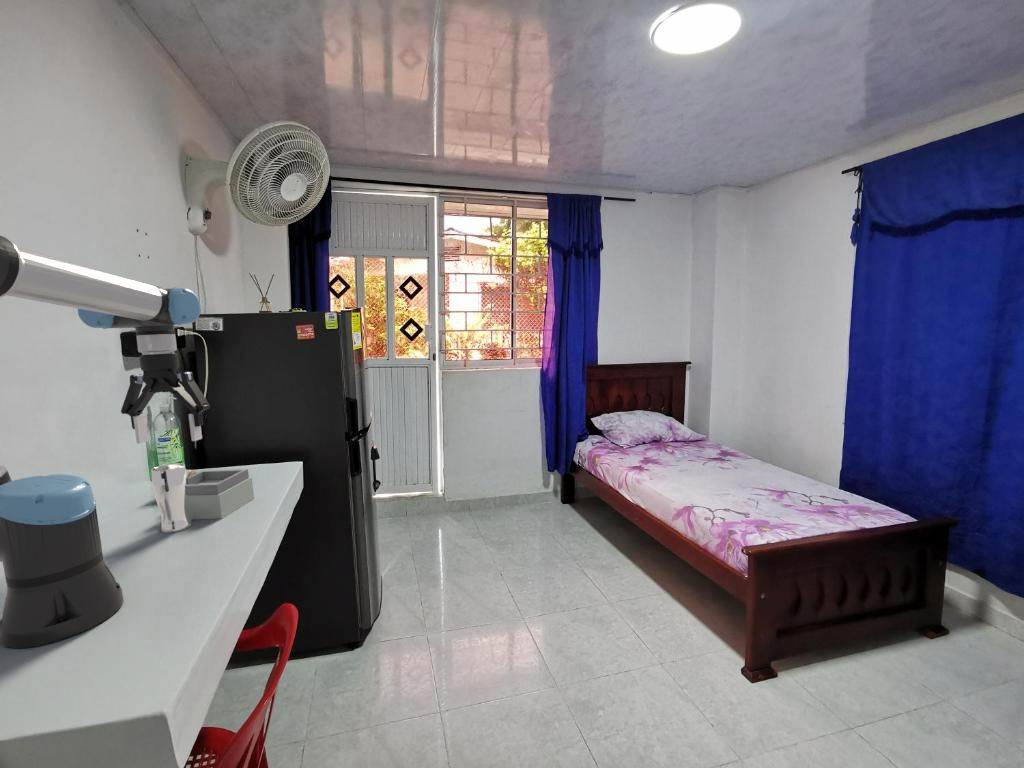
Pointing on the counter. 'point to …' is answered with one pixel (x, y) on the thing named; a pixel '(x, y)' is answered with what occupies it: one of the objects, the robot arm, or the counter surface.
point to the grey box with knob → (218, 493)
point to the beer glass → (171, 496)
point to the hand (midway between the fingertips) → (169, 441)
